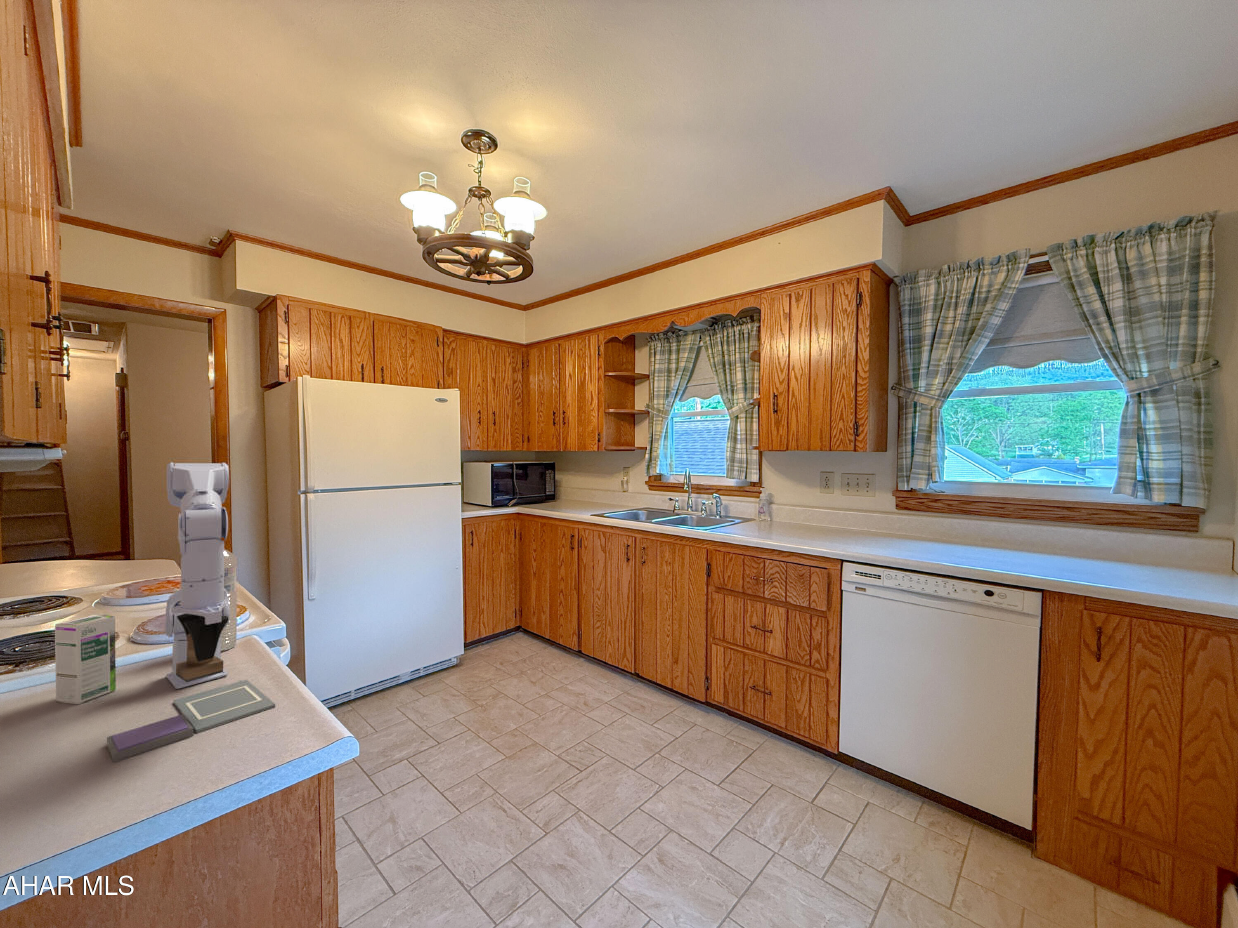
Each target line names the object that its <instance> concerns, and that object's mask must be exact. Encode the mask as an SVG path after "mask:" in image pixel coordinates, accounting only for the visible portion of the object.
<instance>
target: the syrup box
mask: <svg viewBox="0 0 1238 928" xmlns="http://www.w3.org/2000/svg"><path fill="white" fill-rule="evenodd" d="M54 645H55V646H54V648H55V649H54V651H55V653H54V654H55V655H54V656H55V661H54V662H55V701H56V702H59V703H64V704H73V705H81V704H83V703H84V702H87V701H91V700H92V699H96V698H98V697H101V696H104V695H106V694H110V693H113V692H115V691H116V688H117V684H116V682H117V679H116V676H117V675H116V671H117V670H116V668H117V667H116V658H117V657H116V616H114V615H109V614H91V615H89V616H84V617H79V618H77V619H76V618H75V619H71V620H68V621H63V622H59V623H55V625H54Z"/></svg>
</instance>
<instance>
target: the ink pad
mask: <svg viewBox="0 0 1238 928" xmlns="http://www.w3.org/2000/svg"><path fill="white" fill-rule="evenodd" d="M192 736H193V737H194V729H193V727H192V726H191V724H190V723H189V722H188V720H187V719H186V718H185V716H184V715H183V714H182V713H181V714H178V715H175V716H172V717H168V718H165V719H161V720H159V721H155V722H153V723H149V724H147V725H143V726H139V727H135V728H132V729H130V730H127V731H122V732H120V733H117V734H113V735H110V736H109V735H108V736H107V737H106V746H107V747H106V748H107V749H108V751H109V754H110V756H111V758H112V761H113V763H116V762H119V761H122V760H123V759H128V758H131V757H133V756H135V755H139V754H143V753H145V752H148V751H152V750H155V749H157V748H161V747H162V746H167V745H169V744H173V743H175V742H178V741H181V740H184V739H187V738H190V737H192Z"/></svg>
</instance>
